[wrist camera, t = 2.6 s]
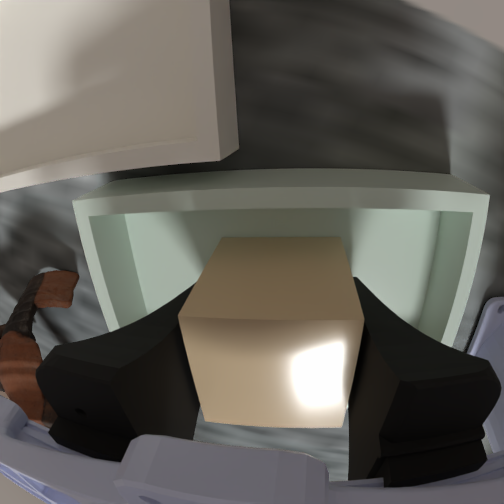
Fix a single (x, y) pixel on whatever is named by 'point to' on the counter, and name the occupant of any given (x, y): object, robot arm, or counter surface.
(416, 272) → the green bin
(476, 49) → the counter surface
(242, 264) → the sandstone block
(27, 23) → the cream bin
